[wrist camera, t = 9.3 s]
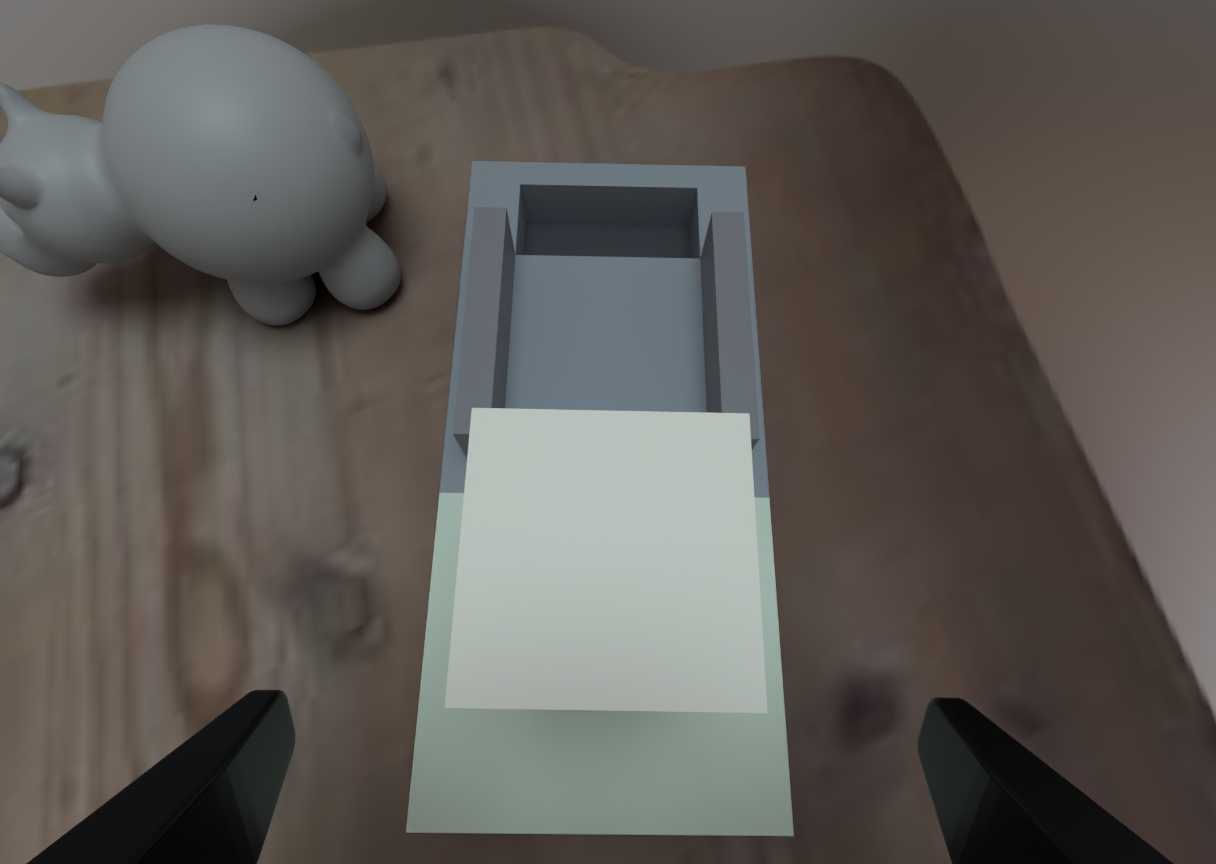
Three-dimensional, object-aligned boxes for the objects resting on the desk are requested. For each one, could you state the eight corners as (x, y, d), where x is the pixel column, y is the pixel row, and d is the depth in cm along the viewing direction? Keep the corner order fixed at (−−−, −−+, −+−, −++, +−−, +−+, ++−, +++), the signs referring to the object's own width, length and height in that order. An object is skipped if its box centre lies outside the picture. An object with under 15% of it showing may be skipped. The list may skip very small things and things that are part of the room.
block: (680, 695, 19) (766, 713, 9) (520, 693, 19) (444, 708, 9) (677, 537, 20) (749, 413, 11) (529, 534, 20) (471, 407, 11)
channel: (770, 817, 20) (824, 860, 15) (428, 814, 20) (376, 856, 15) (732, 210, 27) (761, 113, 23) (483, 205, 27) (459, 106, 22)
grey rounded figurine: (86, 209, 27) (-144, -3, 18) (403, 167, 28) (322, -52, 19) (70, 379, 24) (-204, 224, 16) (419, 327, 25) (333, 154, 17)
